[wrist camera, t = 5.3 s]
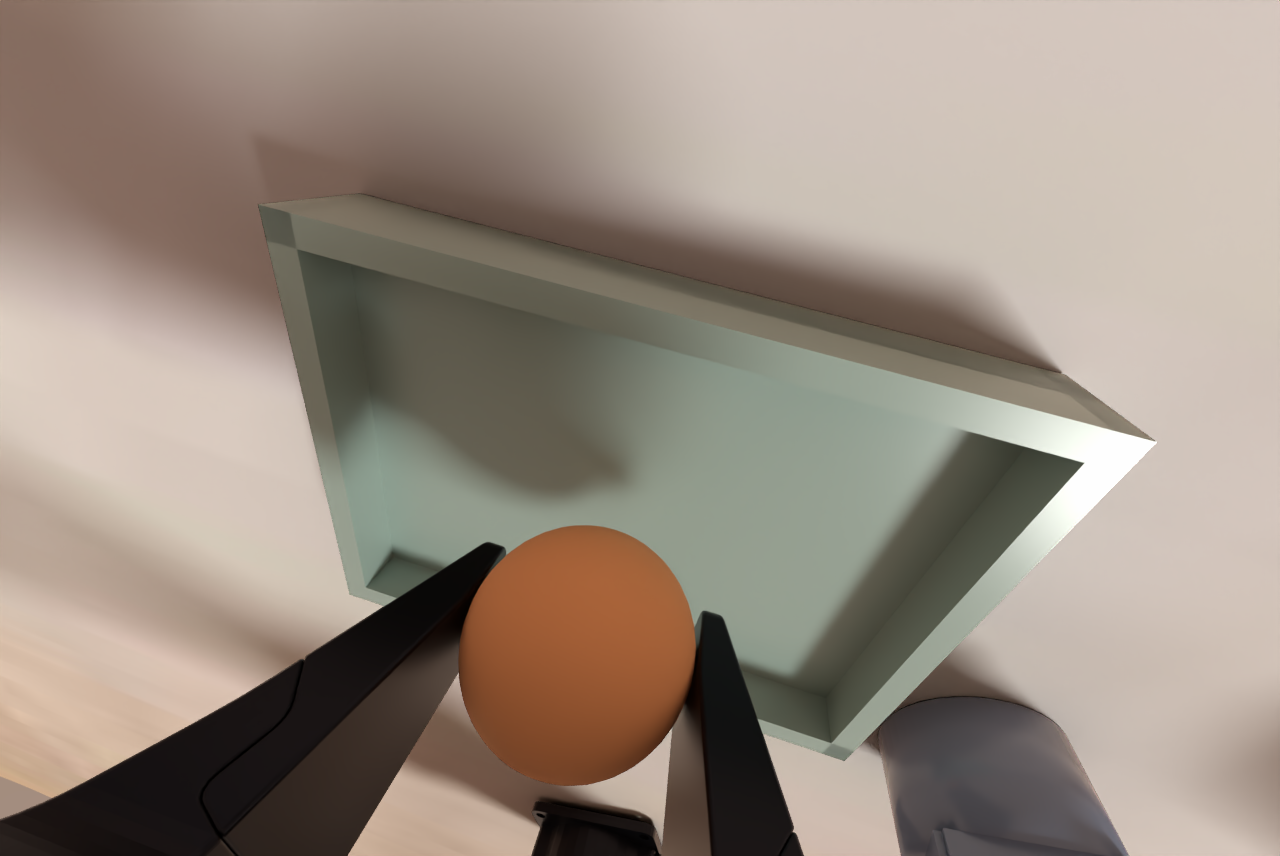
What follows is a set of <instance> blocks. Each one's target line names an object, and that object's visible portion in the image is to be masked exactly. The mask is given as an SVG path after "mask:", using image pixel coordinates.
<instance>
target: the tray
mask: <svg viewBox="0 0 1280 856" xmlns="http://www.w3.org/2000/svg"><path fill="white" fill-rule="evenodd" d="M258 207H259V211H260V215H261V220H262V224H263V228H264V232H265V237H266V241H267V245H268V249H269V254H270V258H271V262H272V266H273V271H274V275H275V279H276V283H277V288H278V292H279V296H280V300H281V305H282V309H283V313H284V317H285V322H286V326H287V330H288V334H289V339H290V343H291V347H292V351H293V356H294V360H295V364H296V368H297V373H298V377H299V381H300V385H301V390H302V394H303V398H304V402H305V407H306V411H307V415H308V419H309V424H310V428H311V432H312V436H313V441H314V445H315V449H316V453H317V458H318V462H319V466H320V470H321V475H322V479H323V483H324V487H325V492H326V496H327V500H328V504H329V509H330V513H331V517H332V521H333V526H334V530H335V534H336V538H337V543H338V547H339V551H340V555H341V560H342V564H343V568H344V572H345V577H346V581H347V585H348V589H349V594H350V595H353V596H356V597H359V598H362V599H365V600H368V601H371V602H374V603H376V604H379V605H382V606H385V605H387V604H388V603H390V602H392V601H393V600H395V599H396V598H398V597H399V596H401V595H403V594H404V593H406V592H407V591H409V590H410V589H412V588H414V587H415V586H417V585H418V584H420V583H421V582H423V581H425V580H426V579H428V578H429V577H431V576H432V575H434V574H436V573H437V572H439V571H440V570H442V569H443V568H445V567H447V566H448V565H450V564H451V563H453V562H454V561H456V560H458V559H459V558H461V557H462V556H464V555H465V554H467V553H468V552H470V551H472V550H473V549H475V548H476V547H478V546H479V545H481V544H483V543H485V542H492V543H495V544H498V545H501V546H504V547H505V548H506V555H507V554H508V553H510V552H511V551H512V550H514V549H515V548H516V547H518V546H519V545H521V544H522V543H524V542H525V541H527V540H529V539H531V538H533V537H535V536H537V535H539V534H542V533H544V532H547V531H550V530H554V529H557V528H561V527H567V526H576V525H592V526H601V527H607V528H610V529H614V530H617V531H620V532H623V533H625V534H628V535H630V536H632V537H634V538H636V539H637V540H639V541H640V542H642V543H644V544H645V545H646V546H648V547H649V548H650V549H651V550H653V551H654V552H655V553H656V554H657V555H658V556H659V557H660V558H661V559H662V560H663V561H664V562H665V563H666V564H667V566H668V567H669V568H670V569H671V571H672V572H673V574H674V575H675V577H676V579H677V580H678V582H679V583H680V585H681V587H682V590H683V592H684V594H685V596H686V599H687V601H688V603H689V607H690V611H691V615H692V619H693V623H694V627H695V625H696V623H697V620H698V618H699V616H700V613H701V612H702V611H704V610H706V611H709V612H712V613H716V614H719V615H721V616H722V617H723V618H724V620H725V623H726V626H727V629H728V632H729V635H730V638H731V641H732V644H733V647H734V650H735V653H736V656H737V659H738V662H739V665H740V668H741V671H742V674H743V677H744V680H745V683H746V686H747V688H748V691H749V694H750V697H751V700H752V703H753V706H754V709H755V712H756V715H757V718H758V721H759V724H760V727H761V730H762V733H763V734H766V735H769V736H772V737H775V738H778V739H781V740H784V741H787V742H789V743H792V744H795V745H798V746H801V747H804V748H807V749H810V750H813V751H816V752H819V753H822V754H825V755H828V756H831V757H834V758H837V759H840V760H843V761H845V760H846V759H847V758H848V757H849V756H850V755H851V754H852V753H853V752H854V751H855V750H856V749H857V748H858V747H859V746H860V745H861V744H862V743H863V742H864V740H865V739H866V738H867V737H868V736H869V735H870V734H871V733H872V732H873V731H874V730H875V729H876V728H877V727H878V726H879V725H880V724H881V723H882V722H883V721H884V720H885V719H886V718H887V717H888V716H889V715H890V714H891V713H892V712H893V711H894V710H895V709H896V708H897V707H898V706H899V705H900V704H901V703H902V702H903V701H904V700H905V699H906V698H907V697H908V696H909V695H910V694H911V693H912V692H913V691H914V690H915V688H916V687H917V686H918V685H919V684H920V683H921V682H922V681H923V680H924V679H925V678H926V677H927V676H928V675H929V674H930V673H931V672H932V671H933V670H934V669H935V668H936V667H937V666H938V665H939V664H940V663H941V662H942V661H943V660H944V659H945V658H946V657H947V656H948V655H949V654H950V653H951V652H952V651H953V650H954V649H955V648H956V647H957V646H958V645H959V644H960V643H961V642H962V641H963V640H964V639H965V638H966V636H967V635H968V634H969V633H970V632H971V631H972V630H973V629H974V628H975V627H976V626H977V625H978V624H979V623H980V622H981V621H982V620H983V619H984V618H985V617H986V616H987V615H988V614H989V613H990V612H991V611H992V610H993V609H994V608H995V607H996V606H997V605H998V604H999V603H1000V602H1001V601H1002V600H1003V599H1004V598H1005V597H1006V596H1007V595H1008V594H1009V593H1010V592H1011V591H1012V590H1013V589H1014V588H1015V587H1016V585H1017V584H1018V583H1019V582H1020V581H1021V580H1022V579H1023V578H1024V577H1025V576H1026V575H1027V574H1028V573H1029V572H1030V571H1031V570H1032V569H1033V568H1034V567H1035V566H1036V565H1037V564H1038V563H1039V562H1040V561H1041V560H1042V559H1043V558H1044V557H1045V556H1046V555H1047V554H1048V553H1049V552H1050V551H1051V550H1052V549H1053V548H1054V547H1055V546H1056V545H1057V544H1058V543H1059V542H1060V541H1061V540H1062V539H1063V538H1064V537H1065V536H1066V535H1067V533H1068V532H1069V531H1070V530H1071V529H1072V528H1073V527H1074V526H1075V525H1076V524H1077V523H1078V522H1079V521H1080V520H1081V519H1082V518H1083V517H1084V516H1085V515H1086V514H1087V513H1088V512H1089V511H1090V510H1091V509H1092V508H1093V507H1094V506H1095V505H1096V504H1097V503H1098V502H1099V501H1100V500H1101V499H1102V498H1103V497H1104V496H1105V495H1106V494H1107V493H1108V492H1109V491H1110V490H1111V489H1112V488H1113V487H1114V486H1115V485H1116V484H1117V483H1118V481H1119V480H1120V479H1121V478H1122V477H1123V476H1124V475H1125V474H1126V473H1127V472H1128V471H1129V470H1130V469H1131V468H1132V467H1133V466H1134V465H1135V464H1136V463H1137V462H1138V461H1139V460H1140V459H1141V458H1142V457H1143V456H1144V455H1145V454H1146V453H1147V452H1148V451H1149V450H1150V449H1151V448H1152V447H1153V446H1154V445H1155V444H1156V443H1157V442H1156V441H1155V440H1153V439H1152V438H1151V437H1149V436H1148V435H1147V434H1145V433H1144V432H1142V431H1141V430H1140V429H1138V428H1137V427H1136V426H1134V425H1133V424H1132V423H1130V422H1129V421H1128V420H1126V419H1125V418H1123V417H1122V416H1121V415H1119V414H1118V413H1117V412H1115V411H1114V410H1113V409H1111V408H1110V407H1109V406H1107V405H1106V404H1104V403H1103V402H1102V401H1100V400H1099V399H1098V398H1096V397H1095V396H1094V395H1092V394H1091V393H1090V392H1088V391H1087V390H1085V389H1084V388H1083V387H1081V386H1080V385H1079V384H1077V383H1076V382H1075V381H1073V380H1072V379H1071V378H1069V377H1068V376H1066V375H1064V374H1060V373H1056V372H1053V371H1049V370H1045V369H1041V368H1037V367H1033V366H1029V365H1025V364H1021V363H1018V362H1014V361H1010V360H1006V359H1002V358H998V357H994V356H990V355H986V354H982V353H979V352H975V351H971V350H967V349H963V348H959V347H955V346H951V345H947V344H944V343H940V342H936V341H932V340H928V339H924V338H920V337H916V336H912V335H909V334H905V333H901V332H897V331H893V330H889V329H885V328H881V327H877V326H874V325H870V324H866V323H862V322H858V321H854V320H850V319H846V318H842V317H839V316H835V315H831V314H827V313H823V312H819V311H815V310H811V309H807V308H804V307H800V306H796V305H792V304H788V303H784V302H780V301H776V300H772V299H769V298H765V297H761V296H757V295H753V294H749V293H745V292H741V291H737V290H734V289H730V288H726V287H722V286H718V285H714V284H710V283H706V282H702V281H699V280H695V279H691V278H687V277H683V276H679V275H675V274H671V273H667V272H664V271H660V270H656V269H652V268H648V267H644V266H640V265H636V264H632V263H629V262H625V261H621V260H617V259H613V258H609V257H605V256H601V255H597V254H594V253H590V252H586V251H582V250H578V249H574V248H570V247H566V246H562V245H558V244H555V243H551V242H547V241H543V240H539V239H535V238H531V237H527V236H523V235H520V234H516V233H512V232H508V231H504V230H500V229H496V228H492V227H488V226H485V225H481V224H477V223H473V222H469V221H465V220H461V219H457V218H453V217H450V216H446V215H442V214H438V213H434V212H430V211H426V210H422V209H418V208H415V207H411V206H407V205H403V204H399V203H395V202H391V201H387V200H383V199H380V198H376V197H372V196H368V195H364V194H360V193H358V194H349V195H340V196H330V197H321V198H312V199H303V200H294V201H284V202H275V203H266V204H258Z"/></svg>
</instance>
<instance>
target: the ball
mask: <svg viewBox="0 0 1280 856" xmlns="http://www.w3.org/2000/svg"><path fill="white" fill-rule="evenodd" d="M695 656H696V642H695V630H694V623H693V619H692V615H691V611H690V607H689V603H688V601H687V599H686V596H685V594H684V592H683V590H682V587H681V585H680V583H679V582H678V580H677V579H676V577H675V575H674V574H673V572H672V571H671V569H670V568H669V567H668V566H667V564H666V563H665V562H664V561H663V560H662V559H661V558H660V557H659V556H658V555H657V554H656V553H655V552H654V551H653V550H651V549H650V548H649V547H648V546H646V545H645V544H644V543H642V542H640V541H639V540H637V539H636V538H634V537H632V536H630V535H628V534H625V533H623V532H620V531H617V530H614V529H610V528H607V527H601V526H592V525H576V526H567V527H561V528H557V529H554V530H550V531H547V532H544V533H542V534H539V535H537V536H535V537H533V538H531V539H529V540H527V541H525V542H524V543H522V544H521V545H519V546H518V547H516V548H515V549H514V550H512V551H511V552H510V553H508V554H507V555H506V556H505V557H504V558H503V559H502V560H501V561H500V562H499V563H498V564H497V565H496V566H495V567H494V568H493V569H492V570H491V572H490V573H489V574H488V576H487V577H486V578H485V580H484V581H483V583H482V584H481V586H480V587H479V589H478V591H477V593H476V595H475V596H474V598H473V600H472V602H471V605H470V608H469V610H468V613H467V616H466V618H465V621H464V624H463V629H462V633H461V638H460V646H459V658H458V667H459V680H460V687H461V692H462V696H463V701H464V704H465V707H466V709H467V712H468V714H469V717H470V719H471V722H472V724H473V726H474V727H475V729H476V731H477V732H478V734H479V735H480V737H481V738H482V740H483V741H484V743H485V744H486V745H487V746H488V748H489V749H490V750H491V751H492V752H493V753H494V754H495V755H496V756H497V757H498V758H499V759H500V760H501V761H503V762H504V763H505V764H506V765H508V766H509V767H511V768H512V769H514V770H516V771H517V772H519V773H521V774H523V775H525V776H527V777H530V778H532V779H535V780H538V781H541V782H545V783H549V784H554V785H561V786H575V785H588V784H593V783H596V782H600V781H604V780H607V779H610V778H613V777H615V776H617V775H619V774H621V773H623V772H625V771H627V770H629V769H630V768H632V767H633V766H635V765H636V764H638V763H639V762H640V761H642V760H643V759H644V758H646V757H647V756H648V755H649V754H650V753H651V752H652V751H653V750H654V749H655V748H656V747H657V746H658V745H659V744H660V743H661V742H662V741H663V739H664V738H665V736H666V735H667V734H668V732H669V731H670V730H671V728H672V727H673V725H674V724H675V722H676V720H677V719H678V717H679V715H680V713H681V711H682V709H683V706H684V704H685V701H686V699H687V696H688V693H689V690H690V687H691V683H692V677H693V672H694V667H695Z"/></svg>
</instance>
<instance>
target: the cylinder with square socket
mask: <svg viewBox="0 0 1280 856" xmlns="http://www.w3.org/2000/svg"><path fill="white" fill-rule="evenodd" d="M878 743H879V748H880V753H881V758H882V763H883V768H884V773H885V778H886V783H887V788H888V793H889V798H890V803H891V808H892V813H893V818H894V823H895V828H896V833H897V838H898V843H899V848H900V853H901V856H1129V854H1128V853H1127V851H1126V849H1125V847H1124V845H1123V843H1122V841H1121V839H1120V837H1119V835H1118V833H1117V832H1116V830H1115V828H1114V826H1113V824H1112V822H1111V820H1110V818H1109V816H1108V814H1107V812H1106V810H1105V809H1104V807H1103V805H1102V803H1101V801H1100V799H1099V797H1098V795H1097V793H1096V791H1095V789H1094V787H1093V786H1092V784H1091V782H1090V780H1089V778H1088V776H1087V774H1086V772H1085V770H1084V768H1083V766H1082V765H1081V763H1080V761H1079V759H1078V757H1077V755H1076V753H1075V751H1074V749H1073V747H1072V745H1071V743H1070V742H1069V740H1068V738H1067V736H1066V734H1065V733H1064V732H1063V730H1062V729H1061V728H1060V727H1059V726H1058V725H1057V724H1055V723H1054V722H1053V721H1052V720H1050V719H1048V718H1047V717H1045V716H1044V715H1042V714H1040V713H1038V712H1036V711H1033V710H1031V709H1028V708H1026V707H1023V706H1020V705H1016V704H1013V703H1009V702H1004V701H1000V700H994V699H986V698H975V697H951V698H940V699H933V700H928V701H923V702H919V703H916V704H913V705H910V706H907V707H905V708H903V709H901V710H899V711H897V712H896V713H894V714H892V715H891V716H890V717H889V718H887V719H886V721H885V722H884V723H883V724H882V726H881V728H880V730H879V734H878Z"/></svg>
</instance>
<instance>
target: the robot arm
mask: <svg viewBox="0 0 1280 856" xmlns="http://www.w3.org/2000/svg"><path fill="white" fill-rule="evenodd" d="M505 556H506V548H505V547H504V546H501V545H498V544H495V543H492V542H485V543H483V544H481V545H479V546H478V547H476V548H475V549H473V550H472V551H470V552H468V553H467V554H465V555H464V556H462V557H461V558H459V559H458V560H456V561H454V562H453V563H451V564H450V565H448V566H447V567H445V568H443V569H442V570H440V571H439V572H437V573H436V574H434V575H432V576H431V577H429V578H428V579H426V580H425V581H423V582H421V583H420V584H418V585H417V586H415V587H414V588H412V589H410V590H409V591H407V592H406V593H404V594H403V595H401V596H399V597H398V598H396V599H395V600H393V601H392V602H390V603H388V604H387V605H385V606H384V607H382V608H381V609H379V610H377V611H376V612H374V613H373V614H371V615H370V616H368V617H366V618H365V619H363V620H362V621H360V622H359V623H357V624H355V625H354V626H352V627H351V628H349V629H348V630H346V631H345V632H343V633H341V634H340V635H338V636H337V637H335V638H334V639H332V640H330V641H329V642H327V643H326V644H324V645H323V646H321V647H319V648H318V649H316V650H315V651H313V652H312V653H310V654H308V655H307V656H306V657H305V660H303V659H300V660H299V661H297V662H296V663H294V664H292V665H291V666H289V667H288V668H286V669H285V670H283V671H281V672H280V673H278V674H277V675H275V676H273V677H272V678H270V679H268V680H267V681H265V682H264V683H262V684H260V685H259V686H257V687H255V688H254V689H252V690H250V691H249V692H247V693H246V694H244V695H242V696H241V697H239V698H237V699H235V700H234V701H232V702H230V703H228V704H227V705H225V706H223V707H221V708H219V709H218V710H216V711H214V712H212V713H211V714H209V715H207V716H205V717H204V718H202V719H200V720H198V721H196V722H195V723H193V724H191V725H189V726H187V727H185V728H184V729H182V730H180V731H178V732H176V733H174V734H172V735H171V736H169V737H167V738H165V739H163V740H161V741H160V742H158V743H156V744H154V745H152V746H150V747H148V748H147V749H145V750H143V751H141V752H139V753H137V754H136V755H134V756H132V757H130V758H128V759H126V760H124V761H123V762H121V763H119V764H117V765H115V766H113V767H111V768H110V769H108V770H106V771H104V772H102V773H100V774H99V775H97V776H95V777H93V778H91V779H89V780H87V781H86V782H84V783H82V784H80V785H78V786H76V787H74V788H72V789H70V790H68V791H66V792H64V793H62V794H60V795H58V796H56V797H54V798H51V799H49V800H47V801H45V802H43V803H40V804H38V805H36V806H33V807H31V808H29V809H26V810H24V811H21V812H19V813H16V814H13V815H10V816H8V817H5V818H2V819H0V856H348V854H349V852H350V851H351V849H352V847H353V846H354V844H355V842H356V841H357V839H358V837H359V836H360V834H361V833H362V831H363V829H364V828H365V826H366V824H367V823H368V821H369V819H370V818H371V816H372V814H373V813H374V811H375V809H376V808H377V806H378V804H379V803H380V801H381V800H382V798H383V796H384V795H385V793H386V791H387V790H388V788H389V786H390V785H391V783H392V781H393V780H394V778H395V776H396V775H397V773H398V772H399V770H400V768H401V767H402V765H403V763H404V762H405V760H406V758H407V757H408V755H409V753H410V752H411V750H412V748H413V747H414V745H415V743H416V742H417V740H418V739H419V737H420V735H421V734H422V732H423V730H424V729H425V727H426V725H427V724H428V722H429V720H430V719H431V717H432V715H433V714H434V712H435V711H436V709H437V707H438V706H439V704H440V702H441V701H442V699H443V697H444V696H445V694H446V692H447V691H448V689H449V687H450V686H451V684H452V682H453V681H454V679H455V678H456V676H457V674H458V673H459V667H458V658H459V646H460V638H461V633H462V629H463V624H464V621H465V618H466V616H467V613H468V610H469V608H470V605H471V602H472V600H473V598H474V596H475V595H476V593H477V591H478V589H479V587H480V586H481V584H482V583H483V581H484V580H485V578H486V577H487V576H488V574H489V573H490V572H491V570H492V569H493V568H494V567H495V566H496V565H497V564H498V563H499V562H500V561H501V560H502V559H503V558H504V557H505ZM694 630H695V642H696V656H695V667H694V672H693V677H692V683H691V687H690V690H689V693H688V696H687V699H686V701H685V704H684V706H683V709H682V711H681V713H680V715H679V717H678V719H677V720H676V722H675V724H674V725H673V729H672V738H671V749H670V761H669V773H668V784H667V796H666V807H665V819H664V831H663V842H662V846H661V843H660V840H659V837H658V834H657V831H656V829H655V827H654V826H652V825H650V824H648V823H645V822H640V821H635V820H630V819H625V818H620V817H615V816H610V815H605V814H600V813H595V812H590V811H585V810H580V809H575V808H570V807H565V806H560V805H555V804H550V803H545V802H539V801H538V802H535V804H534V807H533V810H532V814H533V816H534V818H535V820H536V821H537V823H538V825H539V826H540V831H539V834H538V837H537V840H536V843H535V846H534V849H533V852H532V855H531V856H804V855H803V852H802V849H801V846H800V843H799V840H798V837H797V834H796V833H794V832H793V830H794V826H793V823H792V820H791V817H790V814H789V811H788V808H787V805H786V802H785V799H784V796H783V793H782V790H781V787H780V784H779V781H778V778H777V775H776V772H775V769H774V766H773V763H772V760H771V757H770V754H769V751H768V748H767V745H766V742H765V739H764V736H763V733H762V730H761V727H760V724H759V721H758V718H757V715H756V712H755V709H754V706H753V703H752V700H751V697H750V694H749V691H748V688H747V686H746V683H745V680H744V677H743V674H742V671H741V668H740V665H739V662H738V659H737V656H736V653H735V650H734V647H733V644H732V641H731V638H730V635H729V632H728V629H727V626H726V623H725V620H724V618H723V617H722V616H721V615H719V614H716V613H712V612H709V611H706V610H704V611H702V612H701V613H700V616H699V618H698V620H697V623H696V625H695V627H694Z"/></svg>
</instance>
